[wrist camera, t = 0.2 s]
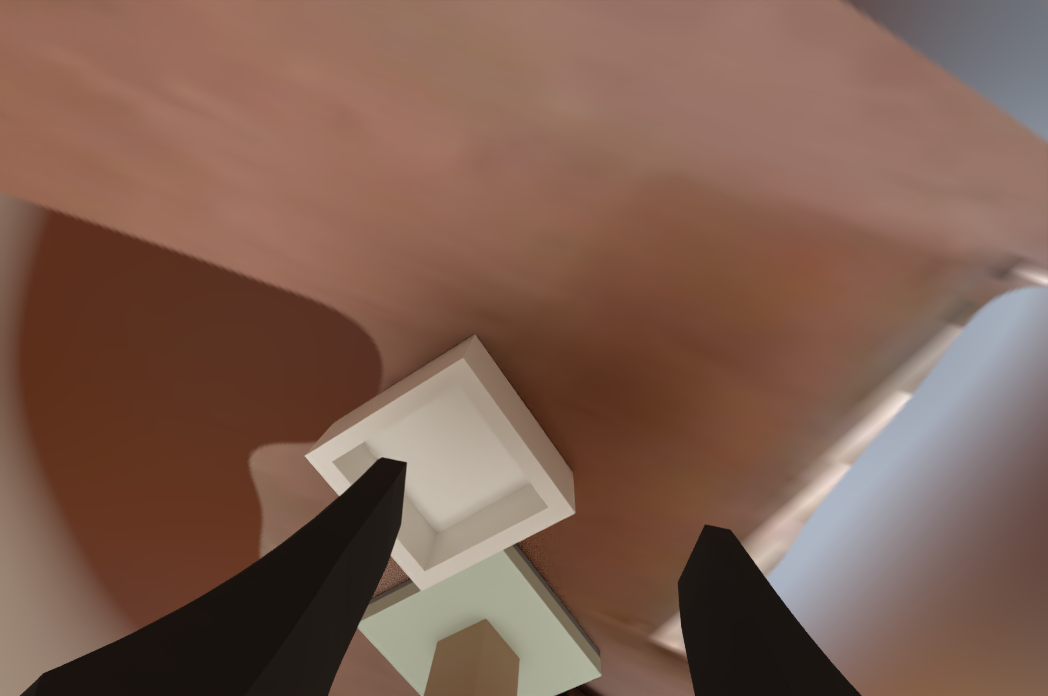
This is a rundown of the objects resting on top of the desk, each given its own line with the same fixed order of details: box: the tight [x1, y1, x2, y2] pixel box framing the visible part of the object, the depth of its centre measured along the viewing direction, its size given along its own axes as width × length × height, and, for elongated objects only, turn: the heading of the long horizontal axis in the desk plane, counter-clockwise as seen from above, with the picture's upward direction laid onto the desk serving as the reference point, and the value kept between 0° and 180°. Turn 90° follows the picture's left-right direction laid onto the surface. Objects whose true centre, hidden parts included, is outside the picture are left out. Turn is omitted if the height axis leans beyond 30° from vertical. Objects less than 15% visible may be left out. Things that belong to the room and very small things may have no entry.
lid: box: [357, 546, 602, 696], centre depth 25 cm, size 9×9×5 cm
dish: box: [305, 334, 575, 591], centre depth 23 cm, size 8×8×3 cm
